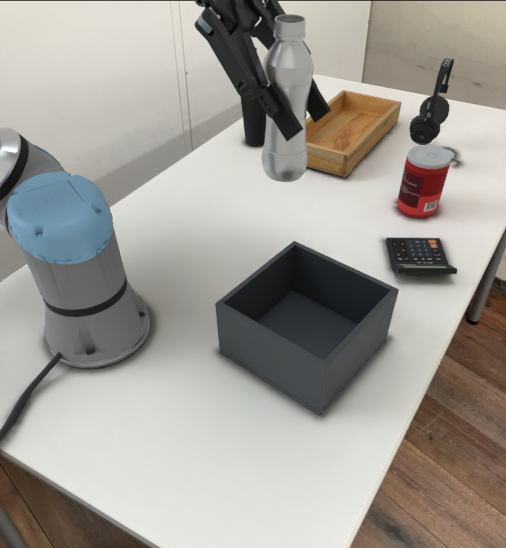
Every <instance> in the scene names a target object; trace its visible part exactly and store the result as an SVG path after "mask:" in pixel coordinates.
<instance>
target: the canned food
mask: <svg viewBox="0 0 506 548" xmlns="http://www.w3.org/2000/svg"><path fill="white" fill-rule="evenodd" d="M452 159H453V158H452V154H451V152H450V151H449V150H448V149H447V148H445V147H441V146H438V145H434V144H426V145H420V144H418V145H416V146H415V145H414V146H413V147H411V148H410V149H409V150H408V151H407V154H406V159H405V163H404V167H403V172H402V177H401V181H400V187H399V191H398V196H397V201H396V204H397V209H398V211H399V212H400V213H401V214H402V215H404V216H406V217H409V218H413V219H425V218H428V217H431V216H433V215H434V214H435V213H436V211H437V210H438V208H439V205H440V200H441V197H442V194H443V190H444V187H445V183H446V180H447V176H448V174H449V170H450V166H451V162H452V161H451V160H452Z"/></svg>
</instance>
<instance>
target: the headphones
mask: <svg viewBox="0 0 506 548" xmlns="http://www.w3.org/2000/svg"><path fill="white" fill-rule="evenodd" d="M454 63H455V59H454V58H449V57H445V58H444V59H443V60H442V62H441V65H440V66H439V69H438V73H437V77H436V81H435V85H434V89H433V90H434V91H433V93H432V95H431V96H428V97H426V98H425V99H424V100H423V101H422V103H421V105H420V107H419V112H418V113H419V114H418V115H416V116H415V117H413V118H412V119H411V121H410V124H409V129H408V130H409V138H410V139H411V140H412V142H413V143H414V144H417V145H430V143H432V141H434V140H435V139H436V138H438V136H439V134H440V132H441V125H442V124H443V123H445V122H446V120H447V119H448V117H449V114H450V103H449V101H448V99H446V98H445V97H443V96H442V95H441V94H448V90H449V86H450V84H449V81H450V78H451V74H452V70H453V66H454ZM447 150H450V151H453V153H455V154H457V152H456V151H455V150H454V149H451V148H450V147H447ZM456 157H457V155H455V156H454V157H453V158H452V159H451V162H452V161H454V162H457V164H456V165H455V167H457V166H458V165H459V163H460V161H459V160H456Z"/></svg>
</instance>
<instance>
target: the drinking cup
mask: <svg viewBox="0 0 506 548" xmlns="http://www.w3.org/2000/svg"><path fill="white" fill-rule="evenodd" d="M255 49H256V51H257V52H258V48H257V47H255ZM256 79H257V78H256ZM244 81H245V80H242V82H244ZM246 96H247V95H245V96H244V97H241V96H240V95H239V98H240V104H241V114H242V121H243V131H244V139H245V144H246V145H247V146H249V147H253V148H259V147H263V146H264V143H265V132H266V112H265V111H264V109H263V107H262V106H261V104H260V103H259V101H258V100H257V98H256V97H255V98H254V99H253V100H249V99H248V98H247V97H246Z"/></svg>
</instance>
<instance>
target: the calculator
mask: <svg viewBox="0 0 506 548" xmlns="http://www.w3.org/2000/svg"><path fill="white" fill-rule="evenodd" d="M385 244H386V249H387V254H388V257H389V262H390V267H391V269H392V270H394V271H395V272H396V273H397V274H399V275H400V274H404V275H411V274H414V275H416V274H417V275H457V274H458V268H457V267H455V266H454V265H451V264H449V261H448V259H447V256H446V253H445V250H444V246H443V245H442V241H441V238H440V237H386V238H385Z"/></svg>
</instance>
